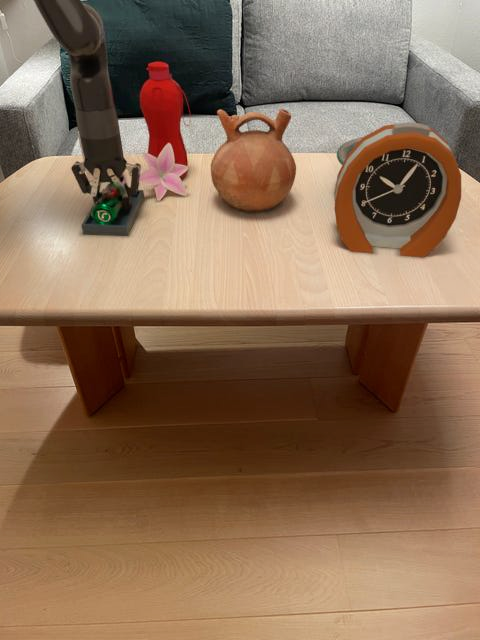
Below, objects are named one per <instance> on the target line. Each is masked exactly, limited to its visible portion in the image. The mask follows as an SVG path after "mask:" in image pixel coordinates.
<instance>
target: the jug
mask: <svg viewBox="0 0 480 640" xmlns="http://www.w3.org/2000/svg"><path fill="white" fill-rule="evenodd" d="M216 114H217V116H218V119H219V121H220V123H221V126H222V128H223V130H224V133H225V135H226V140H225V141H224V142H223V143H222V144H221V145H220V146H219V147H218V148H217V150H216V151H215V153H214V155H213V157H212V159H211V162H210V177H211V181H212V184H213V187H214V188H215V190H216V192H217V193H218V194H219V196H220V197H221V198H222V199H223V201H224V202H226V203H227V204H228V205H229V206H230V207H231V208H233V209H235V210H236V211H240V212H243V213H250V214H255V213H256V214H257V213H264V212H268V211H270V210H273V209H275V208H276V207H277V206H279V204H280V203H281V202H282V201H283V200H284V199H285V198H286V197H287V196H288V194H289V193H290V192H291V190H292V189H293V185H294V182H295V179H296V175H297V165H296V164H297V163H296V161H295V159H294V156H293V154H292V152H291V150H290V149H289V148H288V146H287V145H286V144H285V143H284V141H283V136H284V134H285V132H286V130H287V127H288V125H289V123H290V122H291V119H292V114H291V113H290V112H289V111H288V110H286V109H284V108H280V109H279V111H278V113H277V114H276V117H275V119H272V118H270V117H269V116H267V115H266V114H263V113H261V112H258V111H250V112H246V113H244V114H243V115H241V116H239V115H237V114H233V115H231V116H229V114H228V113H227V112H226V111H225V110H223V109H221V108H220V109H218V110H217V111H216ZM251 121H261V122H262V123H265V124H266V125H267V127H268V128H269V129H268V131H265V130H260V129H251V130H245V131H241V130H240V128H241V127H243V126H244V125H245V124H247V123H250V122H251Z"/></svg>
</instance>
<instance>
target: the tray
mask: <svg viewBox="0 0 480 640" xmlns="http://www.w3.org/2000/svg"><path fill="white" fill-rule="evenodd" d="M104 190H105V188H102V191H100V192H101V193H103V191H104ZM131 201H132V208H131V210H130V211H129V213H124V208H123V209H122V211H121V213H120V215H119V217H118V218H117V220H116V222H115V224H114V225H103V224H97V223H96V222H95V221H94V220H93V218H92V215H91V211H92V208H93V207H94V204H93V205H92V206H91V208H90V210H89V212H88V213H87V214H86V217H85V218H84V220H83V222H82V223H81V224H80V225H81V229H82V233H83V235H96V236H97V235H99V236H126V237H127V236H129V234H130V232H131V230H132V227H133V225H134V223H135V221H136V219H137V216H138V214H139V212H140V209H141V207H142V205H143V203H144V201H145V192H144V189H138V190H137V193H136V194H135V195H131Z"/></svg>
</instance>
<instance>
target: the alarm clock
mask: <svg viewBox="0 0 480 640" xmlns="http://www.w3.org/2000/svg"><path fill="white" fill-rule="evenodd" d="M362 137H363V138H362V139H361V140H360V141H359V142H358V143H357V145H356V146H355V147H354V148H353V149H352V150H351V151H350V152H349V154H348V155H347V156H346V159H345V161H344V163H343V165H342V164H341V167H340V170H339V171H338V174H337V177H336V182H335V187H334V193H333V195H334V198H333V199H334V215H335V223H336V224H335V225H336V229H337V231H338V234H339V236H340V238H341V241H342V242H343V244H344V245H345V247H347V248H348V250H349V251H350V252H354V253H365V254H367V253H368V254H374V247H378V248H390V249H399V254H400V256H402V257H415V258H416V257H417V258H424V257H426V256H427V255H428V254H430V253H432V252H433V251H434V250H435V249H436V248H437V247H438V246H439V245H440V244H441V242H442V241H443V240H444V239H445V238H446V236H447V235H448V233H449V231H450V229H451V228H452V226H453V224H454V222H455V221H456V218H457V215H458V211H459V208H460V203H461V200H462V173H461V171H460V167H459V165H458V163H457V160H456V157H455V155H454V152H453V151H452V150H451V147H450V145H449V143H448V141H447V140H445V138H443V137H442V136H441V135H440V134H438V133H437V132H436V131H435V130H434V128H432V127H430V126H429V125H427V124H423V123H419V122H413V121H411V122H410V121H408V122H398V123H393V124H386V125H383V126H381V127H379V128H378V129H375V130H374V131H372V132H370V133H368V134H367V135H365V136H362Z"/></svg>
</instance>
